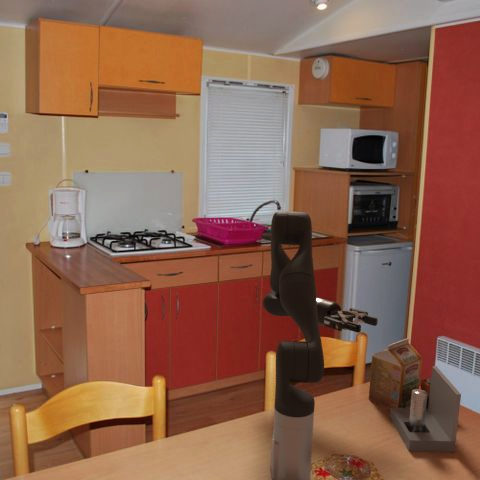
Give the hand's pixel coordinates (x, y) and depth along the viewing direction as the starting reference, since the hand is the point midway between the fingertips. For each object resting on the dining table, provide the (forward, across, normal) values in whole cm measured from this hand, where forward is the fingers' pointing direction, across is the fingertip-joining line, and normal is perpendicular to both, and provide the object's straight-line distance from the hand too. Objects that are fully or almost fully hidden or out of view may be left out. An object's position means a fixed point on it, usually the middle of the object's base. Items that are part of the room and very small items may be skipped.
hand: (368, 325), depth 165 cm
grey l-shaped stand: (+16, +5, +28) cm, 33 cm away
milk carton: (0, +18, +28) cm, 33 cm away
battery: (+12, +20, +28) cm, 37 cm away
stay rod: (+16, +2, +28) cm, 32 cm away
